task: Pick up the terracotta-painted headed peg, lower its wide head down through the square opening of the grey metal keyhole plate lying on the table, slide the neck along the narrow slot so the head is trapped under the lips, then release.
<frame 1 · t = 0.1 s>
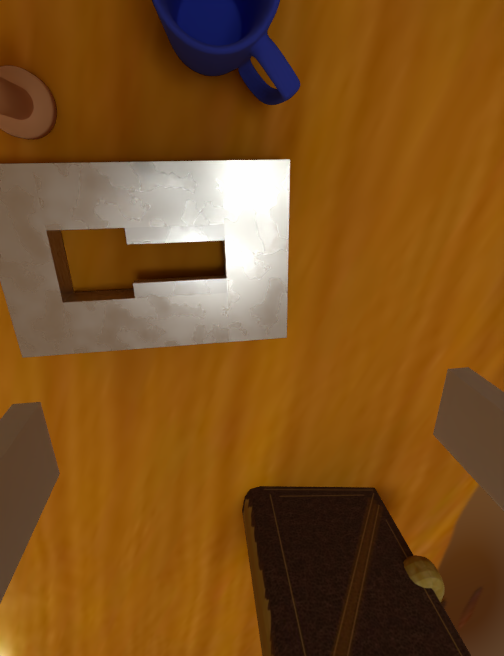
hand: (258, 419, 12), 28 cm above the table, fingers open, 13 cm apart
book: (317, 502, 54), on the table
mug: (225, 53, 31), on the table
keyhole plate: (153, 256, 37), on the table
headed peg: (24, 105, 31), on the table
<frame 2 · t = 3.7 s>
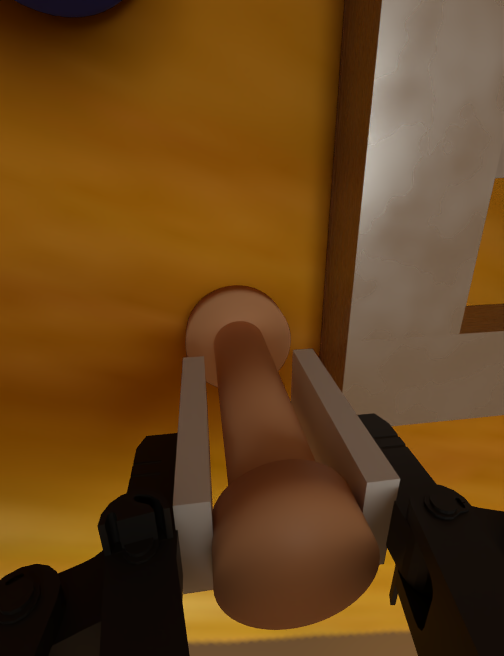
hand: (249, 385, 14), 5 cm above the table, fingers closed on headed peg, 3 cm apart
headed peg: (236, 333, 19), on the table, touching gripper
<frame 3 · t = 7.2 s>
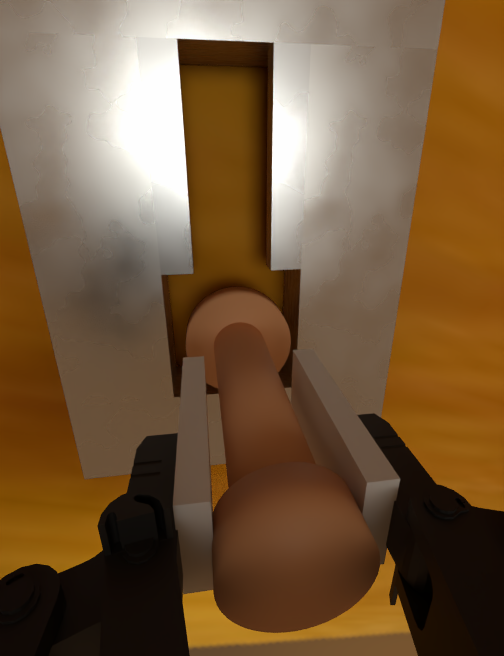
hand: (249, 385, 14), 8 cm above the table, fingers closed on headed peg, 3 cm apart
keyhole plate: (225, 224, 19), on the table
headed peg: (236, 334, 19), point 3 cm above the table, touching gripper
when the fingers open (5 cm above the table, at t = 10.8 s): headed peg stays where it is, resting in keyhole plate.
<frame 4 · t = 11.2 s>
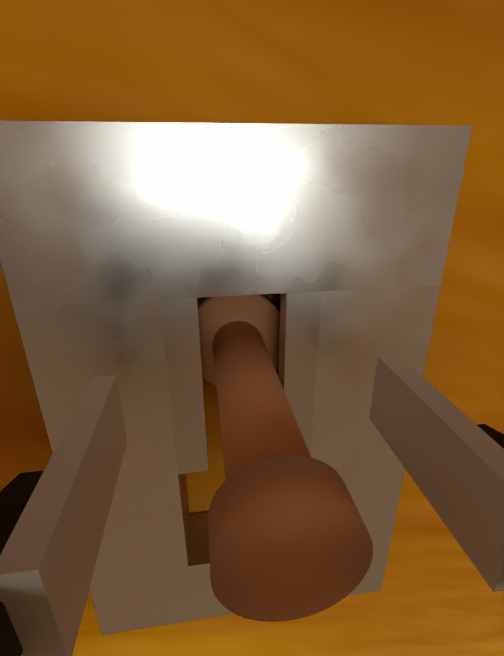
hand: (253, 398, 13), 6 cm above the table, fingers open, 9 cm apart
keyhole plate: (237, 397, 20), on the table
headed peg: (234, 332, 19), resting in keyhole plate
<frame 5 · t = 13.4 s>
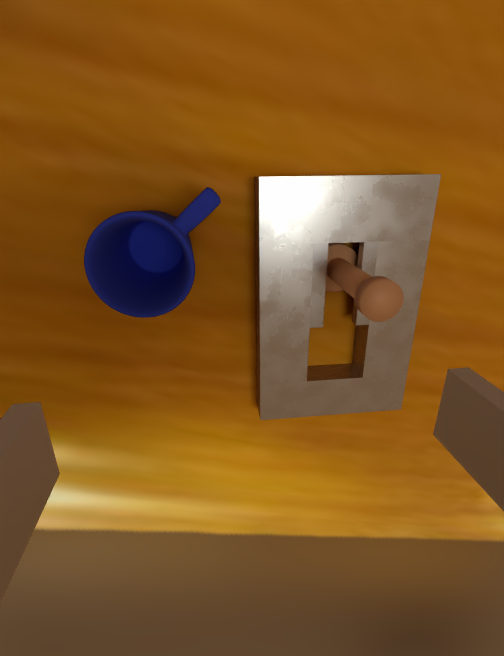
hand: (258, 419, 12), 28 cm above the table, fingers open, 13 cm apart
mug: (171, 231, 37), on the table
keyhole plate: (330, 300, 41), on the table
headed peg: (332, 265, 40), resting in keyhole plate
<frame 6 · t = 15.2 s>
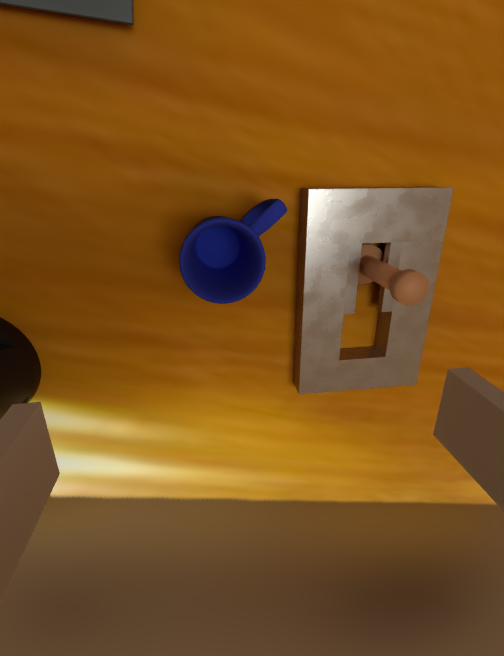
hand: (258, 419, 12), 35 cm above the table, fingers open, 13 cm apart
mug: (229, 233, 44), on the table
keyhole plate: (358, 291, 49), on the table
headed peg: (361, 262, 47), resting in keyhole plate
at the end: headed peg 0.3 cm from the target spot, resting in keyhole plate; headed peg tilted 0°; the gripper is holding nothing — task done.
